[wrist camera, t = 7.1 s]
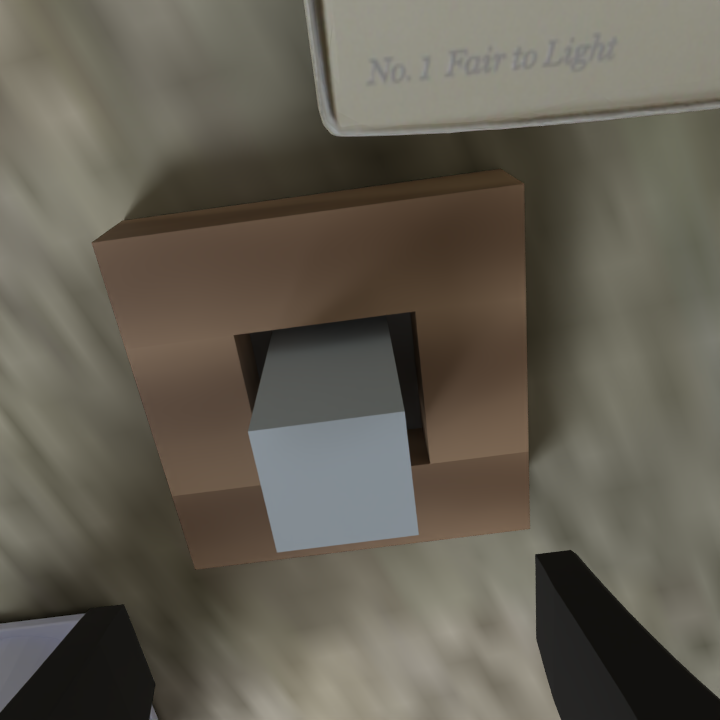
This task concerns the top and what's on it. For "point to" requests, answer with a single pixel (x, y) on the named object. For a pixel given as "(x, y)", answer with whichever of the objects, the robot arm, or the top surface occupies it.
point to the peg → (333, 437)
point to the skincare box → (508, 62)
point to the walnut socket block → (324, 305)
